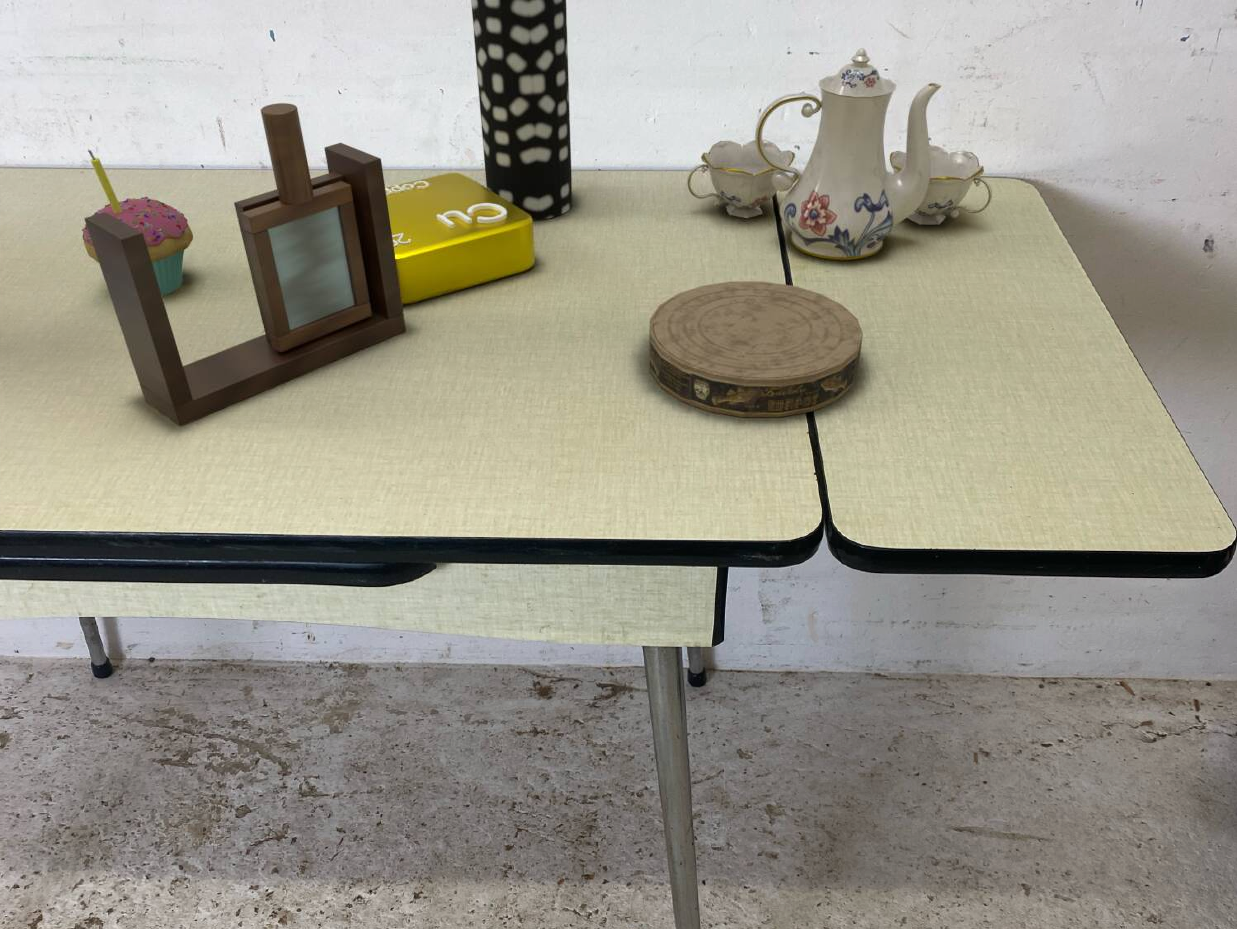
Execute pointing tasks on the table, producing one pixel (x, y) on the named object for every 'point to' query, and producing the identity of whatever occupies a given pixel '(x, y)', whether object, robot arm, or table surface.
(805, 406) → the brown flat banded disc
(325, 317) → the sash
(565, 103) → the spotted tube
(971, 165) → the chinaware
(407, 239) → the element tile
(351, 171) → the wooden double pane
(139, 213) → the cupcake
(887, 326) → the table surface
